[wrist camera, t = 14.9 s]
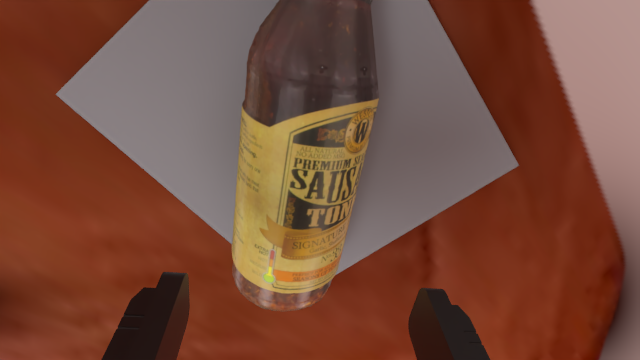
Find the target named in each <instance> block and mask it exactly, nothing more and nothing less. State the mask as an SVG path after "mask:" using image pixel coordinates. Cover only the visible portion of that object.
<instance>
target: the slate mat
mask: <svg viewBox="0 0 640 360" xmlns="http://www.w3.org/2000/svg"><path fill="white" fill-rule="evenodd" d="M278 1H279V0H149V1H148V2H147V3H146V4H145V5H144V6H143V7H142V8H141V9H140V10H139V11H138V12H137V13H136V14H135V15H134V16H133V17H132V18H131V19H130V20H129V21H128V22H127V23H126V24H125V25H124V26H123V27H122V28H121V29H120V30H119V31H118V32H117V33H116V34H115V35H114V36H113V37H112V38H111V39H110V40H109V41H108V42H107V43H106V44H105V45H104V46H103V47H102V48H101V49H100V50H99V51H98V52H97V53H96V54H95V55H94V56H93V57H92V58H91V59H90V60H89V61H88V62H87V63H86V64H85V65H84V66H83V67H82V68H81V69H80V70H79V71H78V72H77V73H76V74H75V75H74V76H73V77H72V78H71V79H70V80H69V81H68V82H67V83H66V84H65V85H64V86H63V87H62V88H61V89H60V90H59V91H58V92H57V93H56V95H57V96H58V97H59V98H60V99H62V100H63V101H64V102H65V103H66V104H67V105H69V106H70V107H71V108H72V109H73V110H74V111H76V112H77V113H78V114H79V115H80V116H82V117H83V118H84V119H85V120H86V121H87V122H89V123H90V124H91V125H92V126H93V127H94V128H96V129H97V130H98V131H99V132H100V133H102V134H103V135H104V136H105V137H106V138H107V139H109V140H110V141H111V142H112V143H113V144H114V145H116V146H117V147H118V148H119V149H120V150H122V151H123V152H124V153H125V154H126V155H127V156H129V157H130V158H131V159H132V160H133V161H134V162H136V163H137V164H138V165H139V166H140V167H142V168H143V169H144V170H145V171H146V172H147V173H149V174H150V175H151V176H152V177H153V178H154V179H156V180H157V181H158V182H159V183H160V184H162V185H163V186H164V187H165V188H166V189H167V190H169V191H170V192H171V193H172V194H173V195H174V196H176V197H177V198H178V199H179V200H180V201H182V202H183V203H184V204H185V205H186V206H187V207H189V208H190V209H191V210H192V211H193V212H194V213H196V214H197V215H198V216H199V217H200V218H202V219H203V220H204V221H205V222H206V223H207V224H209V225H210V226H211V227H212V228H213V229H214V230H216V231H217V232H218V233H219V234H220V235H221V236H223V237H224V238H225V239H226V240H227V241H229V242H230V243H231V244H232V241H233V224H234V212H235V199H236V185H237V171H238V159H239V140H240V127H241V113H242V103H243V101H244V100H245V88H246V77H247V61H248V54H249V49H250V47H251V45H252V42H253V40H254V37H255V35H256V33H257V32H258V30H259V26H260V25H261V24H262V22H263V21H264V20H265V18H266V17H267V16H268V15H269V13H270V12H271V10H272V9H273V8H274V7H275V5H276V3H277V2H278ZM371 14H372V25H373V35H374V47H375V58H376V69H377V80H378V92H379V100H378V105H377V109H376V114H375V118H374V122H373V125H372V129H371V133H370V138H369V142H368V146H367V150H366V154H365V158H364V163H363V167H362V171H361V175H360V179H359V183H358V187H357V191H356V197H355V201H354V204H353V208H352V212H351V217H350V221H349V225H348V229H347V233H346V238H345V242H344V246H343V250H342V254H341V258H340V262H339V266H338V270H337V272H336V274H338V273H340V272H341V271H343V270H345V269H346V268H348V267H350V266H351V265H353V264H355V263H356V262H358V261H360V260H361V259H363V258H365V257H366V256H368V255H370V254H371V253H373V252H375V251H376V250H378V249H380V248H381V247H383V246H385V245H387V244H388V243H390V242H392V241H393V240H395V239H397V238H398V237H400V236H402V235H403V234H405V233H407V232H408V231H410V230H412V229H413V228H415V227H417V226H418V225H420V224H422V223H423V222H425V221H427V220H428V219H430V218H432V217H433V216H435V215H437V214H438V213H440V212H442V211H443V210H445V209H447V208H448V207H450V206H452V205H453V204H455V203H457V202H459V201H460V200H462V199H464V198H465V197H467V196H469V195H470V194H472V193H474V192H475V191H477V190H479V189H480V188H482V187H484V186H485V185H487V184H489V183H490V182H492V181H494V180H495V179H497V178H499V177H500V176H502V175H504V174H505V173H507V172H509V171H510V170H512V169H514V168H515V167H517V166H519V165H518V163H517V161H516V159H515V157H514V155H513V154H512V152H511V150H510V148H509V146H508V145H507V143H506V141H505V139H504V137H503V136H502V134H501V132H500V130H499V128H498V127H497V125H496V123H495V121H494V119H493V118H492V116H491V114H490V112H489V110H488V109H487V107H486V105H485V103H484V101H483V99H482V98H481V96H480V94H479V92H478V90H477V89H476V87H475V85H474V83H473V81H472V80H471V78H470V76H469V74H468V72H467V71H466V69H465V67H464V65H463V63H462V62H461V60H460V58H459V56H458V54H457V52H456V51H455V49H454V47H453V45H452V43H451V42H450V40H449V38H448V36H447V34H446V33H445V31H444V29H443V27H442V25H441V24H440V22H439V20H438V18H437V16H436V15H435V13H434V11H433V9H432V7H431V6H430V4H429V2H428V0H372V2H371ZM336 274H335V275H336Z"/></svg>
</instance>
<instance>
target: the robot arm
mask: <svg viewBox="0 0 640 360" xmlns="http://www.w3.org/2000/svg"><path fill="white" fill-rule="evenodd" d="M188 316H189V282H188V274H187V273H173V272H163V274H162V275H161V278H160V280H159V282H158V285H157V287H156V288H143V289H142V290H141V291H140V292H139V293H138V294H137V295H135V296H134V297H133V298H132V299H131V301H130V303H129V305H128V307H127V309H126V311H125V313H124V317H122V319H121V321H120V323H119V325H118V329H116V331H115V333H114V336H113V338H112V340H111V342H110V344H109V346H108V348H107V350H106V352H105V354H104V356H103V358H102V360H176V359H177V355H178V352H179V349H180V345H181V342H182V339H183V335H184V332H185V329H186V325H187V321H188ZM409 334H410V338H411V341H412V344H413V347H414V350H415V354H416V357H417V360H490V358H489V356H488V354H487V352H486V350H485V348H484V346H483V345H482V344H481V343H482V342H481V340H480V338H479V336H478V334H476V330H475V328H474V326H473V324H472V322H471V320H470V318H469V317H468V316H467V315H466V314H465V312H464V311H463V310H462V309H461V308H460V307H459V306H458V305H451V303H450V301H449V299H448V296H447V294H446V292H445V291H444V290H443V289H431V288H421V289H420V290H419V293H418V295H417V298H416V301H415V303H414V306H413V309H412V311H411V314H410V317H409Z"/></svg>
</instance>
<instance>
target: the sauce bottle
mask: <svg viewBox="0 0 640 360" xmlns="http://www.w3.org/2000/svg"><path fill="white" fill-rule="evenodd" d="M371 2H372V0H279V1H278V2H277V3H276V5H275V7H274V8H273V9H272V10H271V12H270V13H269V15H268V16H267V17H266V18H265V20H264V21H263V22H262V24H261V25H260V26H259V30H258V32H257V33H256V35H255V37H254V40H253V42H252V45H251V47H250V49H249V54H248V61H247V77H246V88H245V100H244V101H243V103H242V113H241V127H240V140H239V159H238V171H237V185H236V199H235V212H234V224H233V241H232V257H233V267H232V269H233V277H234V279H235V283H236V286H237V287H238V289H239V291H240V292H241V294H242V295H244V296H245V297H246V298H247V299H248V300H249V301H251V302H253V303H254V304H256V305H257V306H259V307H261V308H264V309H270V310H272V311H273V310H275V311H292V310H298V309H303V308H306V307H309V306H312V305H313V304H314V303H316V302H318V301H320V300H321V299H322V297H323V296H324V295H325V293H326V291H327V290H328V288H329V286H330V285H331V281H332V278H333V277H334V276H335V274H336V272H337V270H338V266H339V262H340V258H341V254H342V250H343V246H344V242H345V238H346V233H347V229H348V225H349V221H350V217H351V212H352V208H353V204H354V201H355V197H356V191H357V187H358V183H359V179H360V175H361V171H362V167H363V163H364V158H365V154H366V150H367V146H368V142H369V138H370V133H371V129H372V125H373V122H374V118H375V114H376V109H377V105H378V100H379V92H378V80H377V69H376V58H375V47H374V35H373V25H372V14H371Z"/></svg>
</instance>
